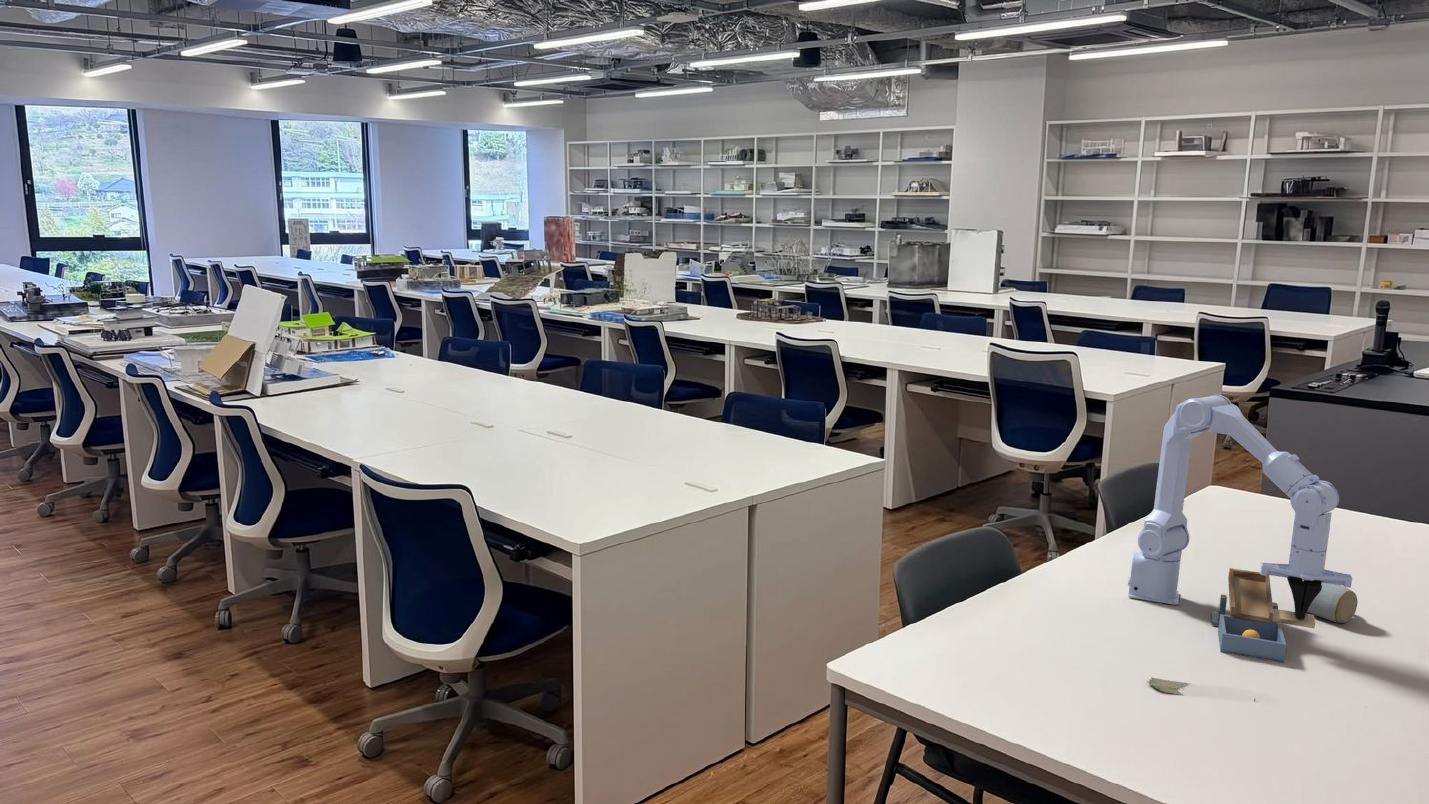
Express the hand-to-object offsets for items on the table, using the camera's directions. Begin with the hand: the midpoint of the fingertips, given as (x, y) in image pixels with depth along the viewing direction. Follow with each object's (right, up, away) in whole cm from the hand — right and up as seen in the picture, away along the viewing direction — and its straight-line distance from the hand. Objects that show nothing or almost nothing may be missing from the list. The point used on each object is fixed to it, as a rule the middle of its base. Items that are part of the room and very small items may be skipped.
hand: (1299, 616), depth 188 cm
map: (-26, -9, -19) cm, 33 cm away
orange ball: (-10, -4, -1) cm, 10 cm away
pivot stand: (-5, -4, +9) cm, 11 cm away
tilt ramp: (-2, -1, +8) cm, 8 cm away
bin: (-10, -5, 0) cm, 11 cm away
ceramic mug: (+15, -3, +15) cm, 21 cm away
